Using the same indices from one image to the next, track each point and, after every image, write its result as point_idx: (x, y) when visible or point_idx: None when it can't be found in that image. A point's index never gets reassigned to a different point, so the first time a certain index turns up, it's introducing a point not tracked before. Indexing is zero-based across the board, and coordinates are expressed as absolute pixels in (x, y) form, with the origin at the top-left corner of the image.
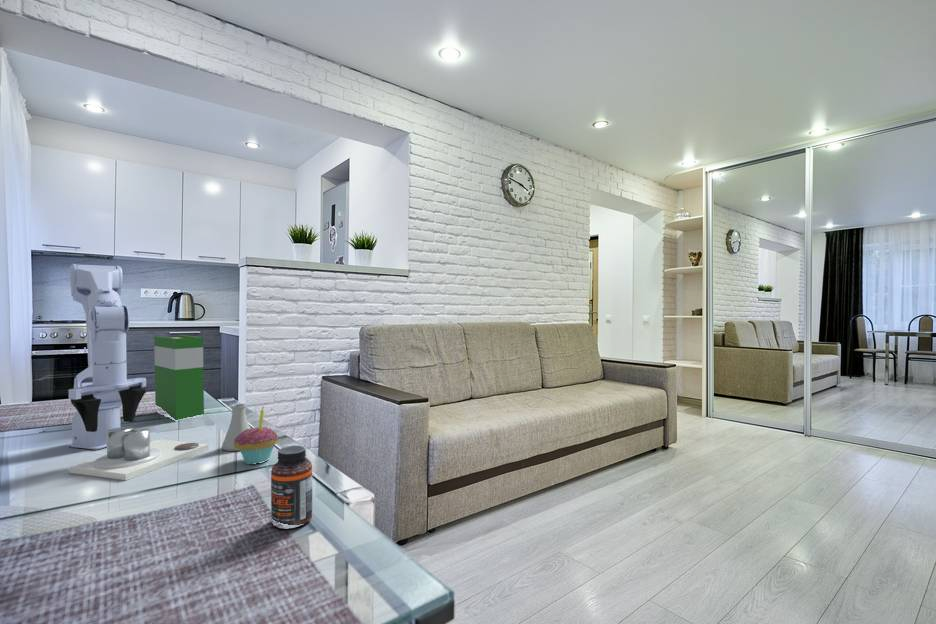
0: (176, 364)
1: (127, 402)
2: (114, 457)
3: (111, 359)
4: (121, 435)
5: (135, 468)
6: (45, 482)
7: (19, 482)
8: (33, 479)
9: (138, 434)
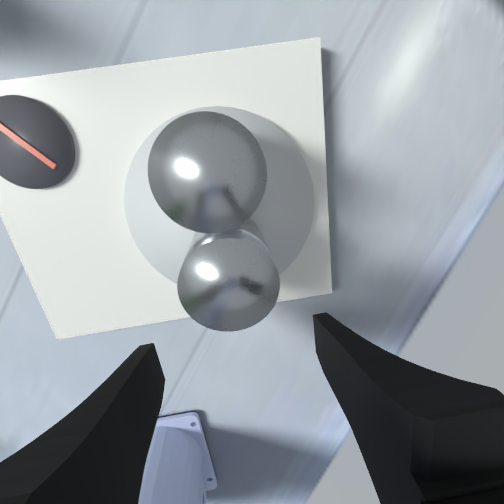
0: None
1: (122, 463)
2: (258, 227)
3: None
4: (247, 236)
5: (269, 71)
6: (388, 263)
7: (403, 316)
8: (382, 311)
9: (229, 117)
